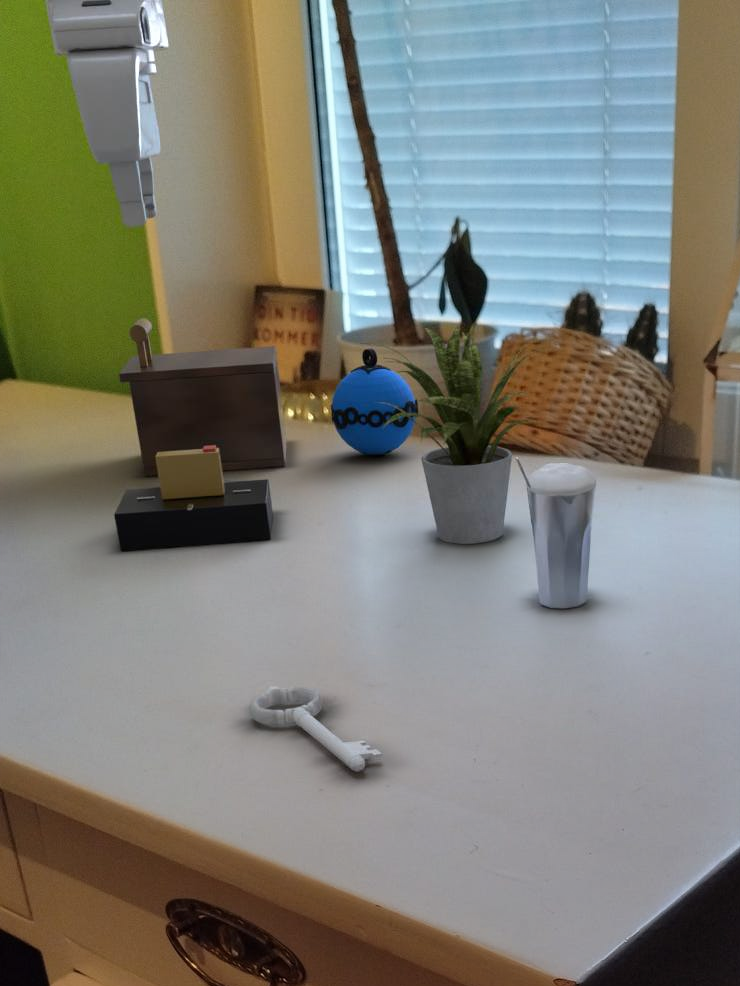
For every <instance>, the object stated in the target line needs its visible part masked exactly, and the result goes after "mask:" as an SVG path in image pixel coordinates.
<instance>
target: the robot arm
mask: <svg viewBox="0 0 740 986" xmlns="http://www.w3.org/2000/svg"><path fill="white" fill-rule="evenodd" d="M44 1H45V6H46V12H47V17H48V18H47V19H48V22H49V27H50V33H51V39H52V44H53V50H54V54H55V55H56V56H61V57H66V61H67V66H68V71H69V75H70V80H71V83H72V87H73V88H72V89H73V92H74V95H75V100H76V103H77V107H78V111H79V114H80V119H81V122H82V125H83V129H84V133H85V137H86V140H87V144H88V146H89V149H90V151H91V154H92V156H93V158H94V161H95V162H96V163H98V164H108V165H109V171H110V176H111V177H110V178H111V181H112V182H111V183H112V185H113V187H114V191H115V194H116V197H117V200H118V204H119V208H120V215H121V220H122V223H123V225H124V226H126V227H128V228H129V227H130V228H131V227H142V226H144V225H145V224H146V223H147V221H148V219H149V220H150V219H153V218H155V217H156V216H157V213H158V211H157V205H156V198H155V184H154V183H155V181H154V169H153V162H152V158H153V157H156V156H159V155H160V154H161V137H160V130H159V124H158V119H157V113H156V107H155V101H154V96H153V89H152V85H151V79H150V76H155V75H157V65H156V59H155V52H158V51H159V52H160V51H164V50H168V49H169V47H170V45H169V37H168V32H167V31H168V30H167V25H166V19H165V13H164V7H163V0H44Z"/></svg>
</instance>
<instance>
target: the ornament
mask: <svg viewBox="0 0 740 986" xmlns="http://www.w3.org/2000/svg"><path fill="white" fill-rule="evenodd" d="M361 358H362V362H363V364H364V365H361V366H360V365H359V366H358V367H355V368H354V369H352V370H351V371H350V372H349V373H347V374H346V375H345V376H344V377H343V378H342V379H341V380H340V382H339V383H338V385H337V386H336V389H335V391H334V393H333V396H332V402H331V404H330V413H331V420H332V421H331V422H332V423H333V425H334V427H335V430H336V432H337V433H338V435H339V436H340V438H341V439H342V440H343V441H344V443H345V444H346V445H347V446H349V447H351V448H352V449H354V451H357V452H359V453H361V454H363V455H369V456H372V457H373V456H384V455H387V454H390V453H392V452H393V451H394V450H396V449H398V448H400V447H401V446H402V445H403V444H404V443H405V442H406V441H407V440H408V438H409V436H410V435H411V434H412V431H413V429H414V427H415V425H416V424H415V423H414V422H413V421H411V420H410V419H409V418H408V417H407V416H405V417H402V418H399V419H397V420H394V421H392V422H391V423H389V424H387V425H386V426H385V427H384V425H385V424H386V422H387V421H388V419H389V418H391V417H392V416H394V415H396V414H398V413H403V412H401V411H400V410H399V409H397V408H395V407H393V406H391V405H388V404H384V403H390V404H393V405H395V406H397V407H399V408H401V409H402V410H403V411H405V412H410V413H417V414H419V404H418V403H419V401H418V399H417V398H415V396H414V393H413V391H412V389H411V387H410V385H409V384H408V382H406V380H405V379H404V378H403V377H402V376H401V375H400V374H398V372H397V373H395V372H396V371H394V370H392V369H391V368H389V367H387V366H385V365H381V364H378V354H377V352H376V351H375V350H374V349H373V348H372V347H371V348H365V349H364V350H363V351H362V354H361ZM375 402H384V403H375ZM410 417H411V418H412V417H416V418H412V419H413V420H415V421H416V419H417V418H418V417H417V416H410ZM383 427H384V428H383Z"/></svg>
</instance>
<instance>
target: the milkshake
mask: <svg viewBox="0 0 740 986" xmlns="http://www.w3.org/2000/svg"><path fill="white" fill-rule="evenodd" d="M515 460H516V462H517V465H518V467H519V469H520V471H521V474H522V476H523V478H524V480H525V483H526V484H525V485H526V493H527V501H528V506H529V507H528V509H529V515H530V517H529V518H530V524H531V528H532V529H531V530H532V537H533V546H534V558H535V567H536V568H535V569H536V578H537V588H538V598H539V603H540V605H541V606H544V607H547V608H550V609H563V610H564V609H570V608H578V607H580V606H582V605H584V604H585V603H587V601H588V589H589V588H588V587H589V573H590V560H591V559H590V558H591V557H590V556H591V544H592V543H591V542H592V529H593V521H594V519H593V518H594V509H595V508H594V507H595V500H596V499H595V497H596V487H597V479H596V477H595V476H594V474H593V473H592V472H591V470H589V469H588V468H586V467H584V466H582V465H576V464H575V465H574V464H571V463H569V462H559V463H554V462H550V463H546V464H544V465H543V466H542V467H540V468H539V469H537V470H535V471H533V472H532V473H531V474H530V475H529V476H528V477H527V475H526V473H525V470H524V468H523V465H522V463H521V461H520V459H519V458H518V457H515Z"/></svg>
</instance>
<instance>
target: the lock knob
mask: <svg viewBox="0 0 740 986" xmlns="http://www.w3.org/2000/svg"><path fill="white" fill-rule="evenodd" d="M156 464H157V470H158V481H159V487H160V488H161V494H162V499H163V500H165V499H179V498H192V497H206V496H220V495H224V492H225V486H224V482H225V480H224V471H222V465H221V458H220V451H219V448H216V445H211V446H204V447H203V449H194V450H180V451H166V452H157V454H156Z"/></svg>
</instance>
